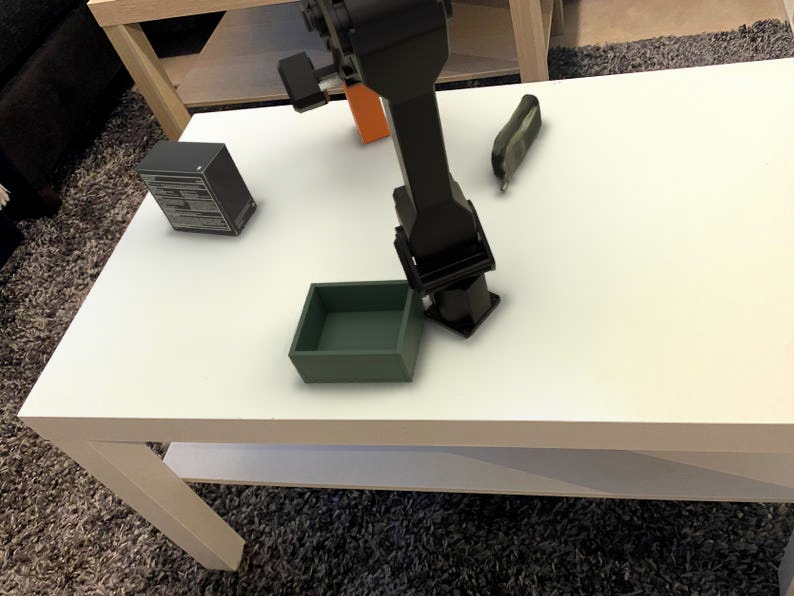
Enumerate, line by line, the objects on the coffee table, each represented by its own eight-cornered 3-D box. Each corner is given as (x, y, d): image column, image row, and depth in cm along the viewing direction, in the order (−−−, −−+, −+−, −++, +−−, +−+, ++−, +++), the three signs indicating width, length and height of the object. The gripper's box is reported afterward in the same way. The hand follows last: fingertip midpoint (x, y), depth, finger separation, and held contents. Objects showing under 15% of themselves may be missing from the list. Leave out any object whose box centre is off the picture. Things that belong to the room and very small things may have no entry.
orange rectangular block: (390, 134, 105) (362, 43, 94) (364, 144, 105) (333, 53, 94) (383, 120, 108) (354, 29, 97) (357, 129, 107) (326, 40, 96)
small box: (260, 203, 100) (227, 140, 92) (239, 237, 97) (202, 173, 89) (195, 199, 103) (157, 137, 95) (172, 231, 100) (131, 169, 92)
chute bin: (426, 308, 84) (415, 278, 80) (412, 382, 78) (400, 353, 74) (325, 311, 86) (310, 282, 82) (304, 383, 80) (287, 355, 76)
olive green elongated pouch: (520, 90, 98) (481, 158, 90) (542, 91, 97) (504, 161, 89) (524, 122, 102) (487, 191, 94) (545, 124, 101) (509, 193, 93)
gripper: (404, -55, 83) (400, 0, 98) (248, -1, 81) (268, 47, 97) (441, 41, 84) (431, 81, 100) (288, 97, 83) (302, 128, 98)
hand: (358, 82), depth 99 cm, fingers open, 9 cm apart
